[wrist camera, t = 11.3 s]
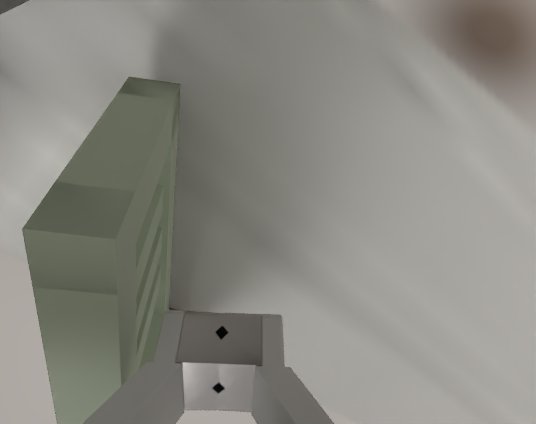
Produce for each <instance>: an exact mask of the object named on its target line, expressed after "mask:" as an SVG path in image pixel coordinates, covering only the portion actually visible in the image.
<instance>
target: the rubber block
mask: <svg viewBox="0 0 536 424" xmlns="http://www.w3.org/2000/svg"><path fill="white" fill-rule="evenodd" d="M27 1H29V0H0V14H2V13H4V12H6V11H8V10H10V9H12V8H14V7H16V6H19V5H21V4H23V3H25V2H27Z"/></svg>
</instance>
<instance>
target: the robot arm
mask: <svg viewBox="0 0 536 424" xmlns="http://www.w3.org/2000/svg"><path fill="white" fill-rule="evenodd" d="M184 410H223V411H240V412H252V416H253V417H254V419H255V421H256V423H257V424H334V423H333V422H332V420H331V419H330V418H329V416H328V415H327V414H326V413H325V411H324V410H323V409H322V407H321V406H320V405H319V404H318V402H317V401H316V400H315V398H314V397H313V396H312V395H311V393H310V392H309V391H308V389H307V388H306V387H305V386H304V384H303V383H302V382H301V380H300V379H299V378H298V377H297V375H296V374H295V373H294V372H293V370H292V369H291V368H290V367H285V365H284V345H283V325H282V317H281V315H272V314H262V315H261V314H245V313H212V312H197V311H177V310H166V311H165V313H164V315H163V319H162V323H161V327H160V332H159V336H158V340H157V344H156V349H155V353H154V357H153V362H146V363H145V364H144V365H143V366H142V367H141V368H140V369H139V370H138V371H137V372H136V373H135V374H134V375H133V376H132V377H130V378H129V379H128V380H127V381H126V382H125V383H124V384H123V385H122V386H121V387H120V388H119V389H118V390H117V391H116V392H115V393H114V394H113V395H112V396H111V397H110V398H108V399H107V400H106V401H105V402H104V403H103V404H102V405H101V406H100V407H99V408H98V409H97V410H96V411H95V412H94V413H93V414H92V415H91V416H90V417H89V418H87V419H86V420H85V421H84V422H83V423H82V424H176V422H177V421H178V420H179V418H180V417H181V416H182V414H183V413H184Z"/></svg>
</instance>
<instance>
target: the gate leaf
mask: <svg viewBox="0 0 536 424" xmlns="http://www.w3.org/2000/svg"><path fill="white" fill-rule="evenodd" d="M179 99H180V84H175V83H169V82H162V81H155V80H148V79H141V78H134V77H129V78H128V79H127V81H126V82H125V83H124V85H123V86H122V88H121V89H120V91H119V92H118V93H117V95H116V96H115V98H114V99H113V101H112V102H111V103H110V105H109V106H108V108H107V109H106V110H105V112H104V113H103V115H102V116H101V118H100V119H99V120H98V122H97V123H96V125H95V126H94V128H93V129H92V130H91V132H90V133H89V135H88V136H87V138H86V139H85V140H84V142H83V143H82V145H81V146H80V147H79V149H78V150H77V152H76V153H75V155H74V156H73V157H72V159H71V160H70V162H69V163H68V165H67V166H66V167H65V169H64V170H63V172H62V173H61V175H60V176H59V177H58V179H57V180H56V182H55V183H54V184H53V186H52V187H51V189H50V190H49V192H48V193H47V194H46V196H45V197H44V199H43V200H42V202H41V203H40V204H39V206H38V207H37V209H36V210H35V211H34V213H33V214H32V216H31V217H30V219H29V220H28V221H27V223H26V224H25V226H24V227H23V229H22V230H23V236H24V241H25V247H26V252H27V258H28V264H29V269H30V275H31V280H32V286H33V291H34V297H35V303H36V308H37V314H38V319H39V325H40V330H41V336H42V342H43V347H44V352H45V358H46V364H47V369H48V375H49V381H50V386H51V392H52V397H53V403H54V408H55V414H56V420H57V424H82V423H83V422H84V421H85V420H86V419H87V418H89V417H90V416H91V415H92V414H93V413H94V412H95V411H96V410H97V409H98V408H99V407H100V406H101V405H102V404H103V403H104V402H105V401H106V400H107V399H108V398H110V397H111V396H112V395H113V394H114V393H115V392H116V391H117V390H118V389H119V388H120V387H121V386H122V385H123V384H124V383H125V382H126V381H127V380H128V379H129V378H130V377H132V376H133V375H134V374H135V373H136V372H137V371H138V370H139V369H140V368H141V367H142V366H143V365H144V364H145V363H146V362H153V357H154V353H155V349H156V344H157V340H158V336H159V332H160V327H161V323H162V319H163V315H164V313H165V311H166V310H169V302H170V281H171V261H172V241H173V220H174V200H175V180H176V160H177V139H178V119H179Z"/></svg>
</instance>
